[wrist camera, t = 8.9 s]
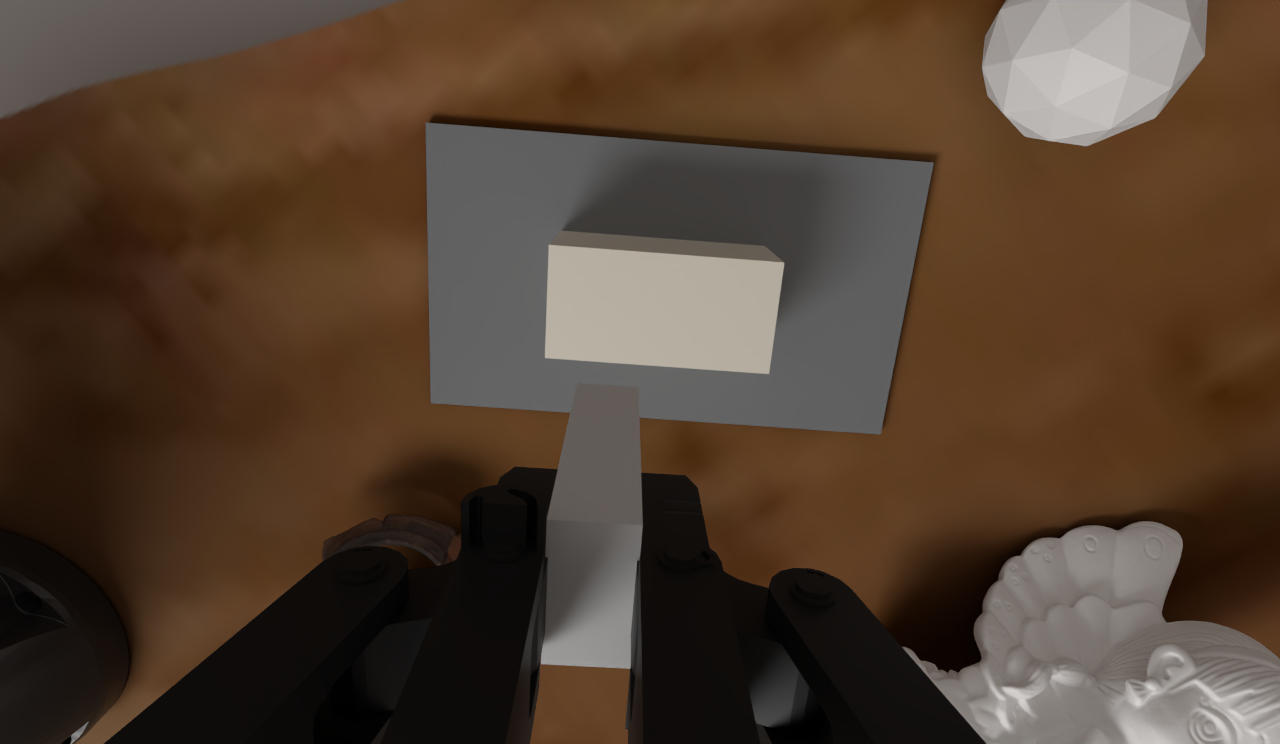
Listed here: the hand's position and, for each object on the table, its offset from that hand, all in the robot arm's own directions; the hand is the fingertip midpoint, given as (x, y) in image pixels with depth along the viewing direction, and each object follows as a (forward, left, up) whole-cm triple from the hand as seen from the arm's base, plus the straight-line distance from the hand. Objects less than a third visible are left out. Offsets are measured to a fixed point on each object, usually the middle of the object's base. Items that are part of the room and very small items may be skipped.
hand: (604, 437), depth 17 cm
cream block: (-3, 0, -16) cm, 17 cm away
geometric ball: (+18, +12, -19) cm, 29 cm away
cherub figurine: (+25, -19, -20) cm, 37 cm away
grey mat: (+2, 0, -19) cm, 19 cm away
